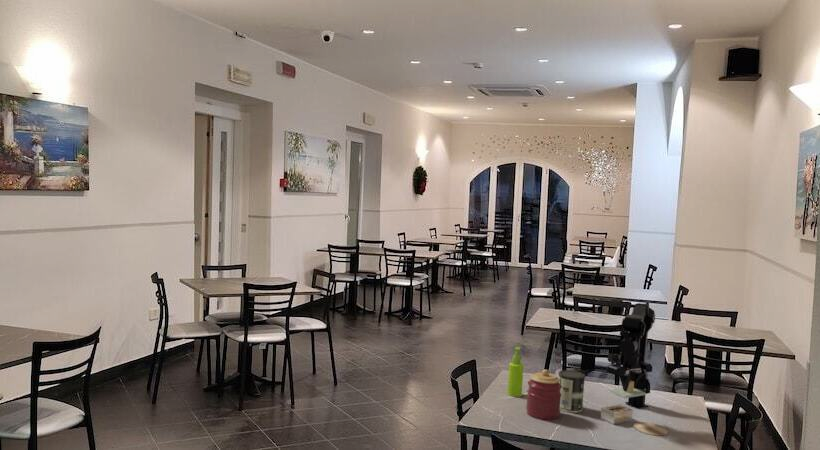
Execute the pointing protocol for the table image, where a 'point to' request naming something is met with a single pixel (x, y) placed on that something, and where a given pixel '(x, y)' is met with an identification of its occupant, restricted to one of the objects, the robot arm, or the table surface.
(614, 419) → the tin
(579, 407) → the coffee can
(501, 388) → the table surface
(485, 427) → the table surface
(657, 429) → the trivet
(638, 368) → the robot arm
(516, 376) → the soap dispenser
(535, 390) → the canister
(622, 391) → the lid
